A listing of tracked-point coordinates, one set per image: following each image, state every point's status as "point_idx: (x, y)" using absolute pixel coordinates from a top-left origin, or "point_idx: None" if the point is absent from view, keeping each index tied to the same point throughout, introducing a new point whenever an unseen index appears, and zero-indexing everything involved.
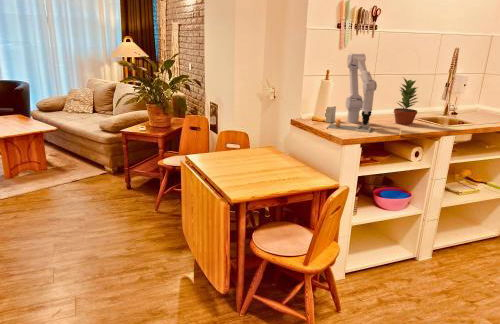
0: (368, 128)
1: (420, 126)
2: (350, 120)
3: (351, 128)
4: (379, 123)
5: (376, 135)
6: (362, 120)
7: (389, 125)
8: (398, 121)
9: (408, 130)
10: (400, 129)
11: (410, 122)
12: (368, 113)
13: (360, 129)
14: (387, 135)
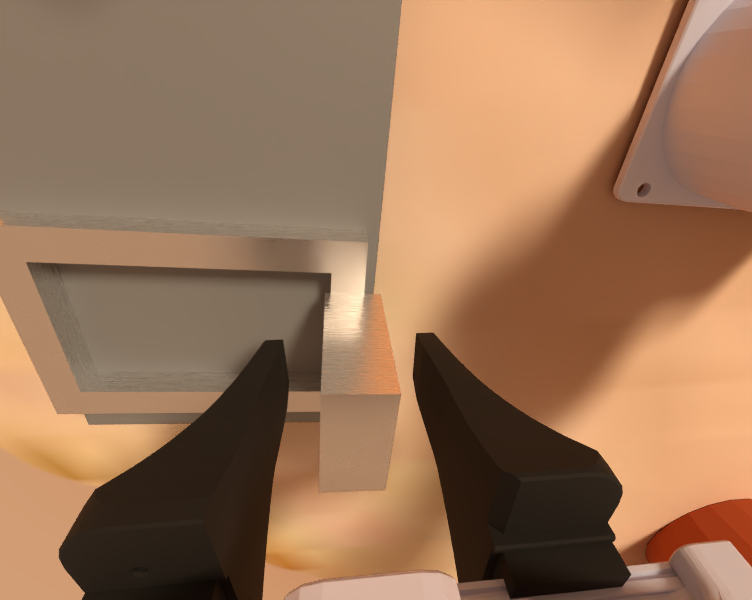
0: (177, 391)
1: None
2: (749, 43)
3: (153, 120)
4: (719, 409)
5: (81, 439)
6: (323, 356)
7: (624, 478)
8: (698, 539)
9: (454, 571)
10: None
11: None
12: (462, 546)
13: (7, 304)
14: None
